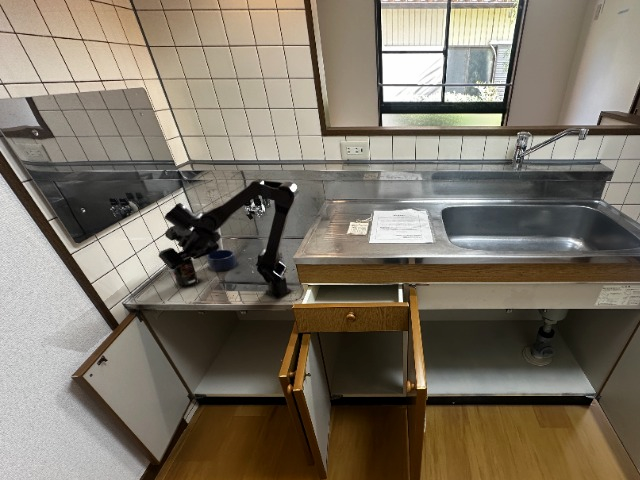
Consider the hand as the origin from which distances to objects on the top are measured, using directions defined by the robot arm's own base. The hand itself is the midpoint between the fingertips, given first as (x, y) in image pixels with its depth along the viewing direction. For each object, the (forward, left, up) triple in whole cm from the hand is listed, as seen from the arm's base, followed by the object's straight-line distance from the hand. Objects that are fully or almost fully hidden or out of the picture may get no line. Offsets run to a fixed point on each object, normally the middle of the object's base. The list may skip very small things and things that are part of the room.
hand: (182, 263), depth 113 cm
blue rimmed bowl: (+5, -16, -8) cm, 18 cm away
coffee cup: (+17, -20, -8) cm, 27 cm away
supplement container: (+1, 0, -8) cm, 8 cm away
